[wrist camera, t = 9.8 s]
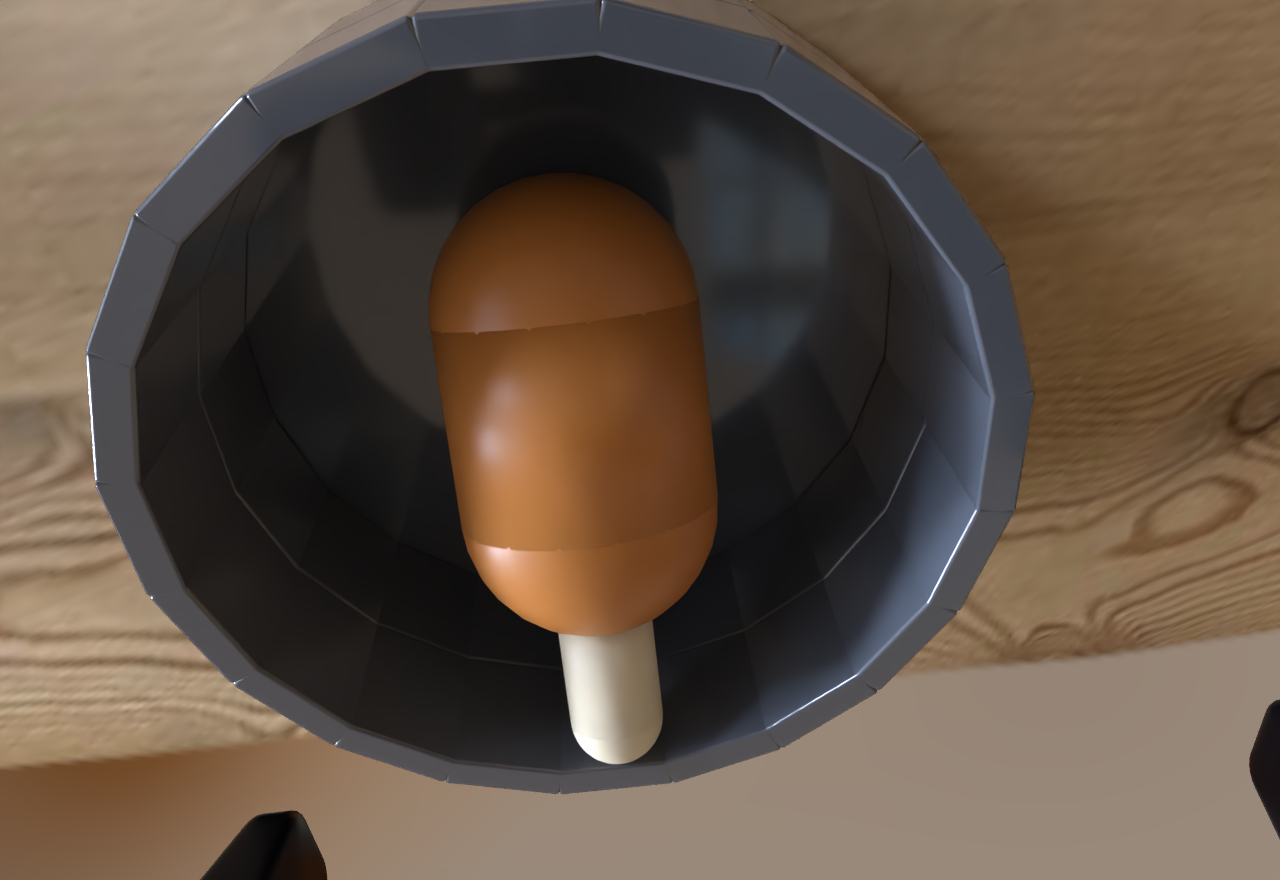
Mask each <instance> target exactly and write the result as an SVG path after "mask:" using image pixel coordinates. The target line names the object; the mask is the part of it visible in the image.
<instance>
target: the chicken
mask: <svg viewBox="0 0 1280 880" xmlns="http://www.w3.org/2000/svg"><path fill="white" fill-rule="evenodd" d="M428 309H429V326H430V332H431V339H432V345H433V351H434V358H435V364H436V370H437V376H438V383H439V389H440V395H441V401H442V408H443V414H444V420H445V426H446V433H447V439H448V445H449V451H450V458H451V464H452V470H453V477H454V483H455V489H456V495H457V502H458V508H459V514H460V520H461V528H462V532H463V536H464V539H465V543H466V547H467V551H468V553H469V555H470V557H471V559H472V561H473V563H474V565H475V567H476V569H477V571H478V573H479V575H480V577H481V578H482V580H483V582H484V583H485V584H486V585H487V587H488V588H489V589H490V590H491V592H492V593H493V594H494V595H495V596H496V598H497V599H498V600H499V601H501V602H502V603H503V604H505V605H506V606H507V607H508V608H510V609H511V610H512V611H514V612H515V613H516V614H518V615H519V616H520V617H521V618H523V619H524V620H527V621H529V622H531V623H533V624H536V625H538V626H540V627H542V628H545V629H547V630H550V631H552V632H557V633H558V635H559V642H560V649H561V656H562V663H563V670H564V678H565V685H566V692H567V699H568V706H569V714H570V721H571V726H572V730H573V734H574V736H575V738H576V740H577V741H578V743H579V745H580V746H581V747H582V748H583V750H584V751H585V752H586V753H587V754H589V755H590V756H592V757H593V758H595V759H597V760H599V761H602V762H605V763H609V764H624V763H628V762H632V761H634V760H636V759H638V758H640V757H641V756H643V755H644V754H645V753H647V752H648V751H649V749H650V748H651V747H652V746H653V745H654V743H655V742H656V740H657V738H658V736H659V733H660V731H661V727H662V721H663V709H662V700H661V691H660V683H659V674H658V665H657V657H656V648H655V639H654V630H653V622H652V620H653V619H655V618H656V617H658V616H659V615H661V614H662V613H664V612H665V611H666V610H667V609H669V608H670V607H671V606H672V605H673V604H675V603H676V602H677V601H678V600H679V599H680V598H681V597H682V596H683V595H684V594H685V593H686V592H687V590H688V589H689V588H690V586H691V585H692V584H693V582H694V581H695V580H696V578H697V577H698V576H699V574H700V572H701V570H702V568H703V566H704V564H705V561H706V559H707V557H708V555H709V553H710V550H711V548H712V545H713V541H714V536H715V532H716V527H717V507H718V491H717V481H716V470H715V460H714V449H713V439H712V428H711V418H710V407H709V397H708V386H707V376H706V365H705V355H704V344H703V334H702V323H701V313H700V302H699V296H698V291H697V286H696V281H695V276H694V270H693V268H692V265H691V263H690V260H689V258H688V256H687V253H686V251H685V248H684V246H683V244H682V243H681V241H680V240H679V238H678V237H677V235H676V234H675V232H674V230H673V229H672V227H671V226H670V224H669V223H668V222H667V221H666V220H665V219H664V218H663V217H662V216H661V215H660V214H659V213H658V212H657V211H656V210H655V209H654V208H653V207H652V206H651V205H650V204H649V203H648V202H646V201H645V200H643V199H642V198H640V197H639V196H637V195H636V194H634V193H633V192H631V191H630V190H628V189H627V188H625V187H622V186H620V185H617V184H615V183H613V182H610V181H608V180H605V179H603V178H600V177H595V176H590V175H585V174H579V173H574V172H569V173H545V174H540V175H535V176H530V177H525V178H521V179H519V180H517V181H514V182H512V183H510V184H507V185H505V186H503V187H501V188H498V189H496V190H495V191H493V192H492V193H490V194H489V195H488V196H486V197H485V198H483V199H482V200H481V201H479V202H478V203H476V204H475V205H474V206H473V207H472V208H471V209H470V210H469V211H468V212H467V213H466V214H465V215H464V217H463V218H462V219H461V220H460V221H459V222H458V223H457V224H456V225H455V227H454V228H453V230H452V232H451V233H450V235H449V237H448V238H447V240H446V242H445V243H444V245H443V247H442V248H441V251H440V253H439V256H438V259H437V262H436V265H435V267H434V270H433V273H432V278H431V285H430V292H429V299H428Z"/></svg>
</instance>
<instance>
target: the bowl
mask: <svg viewBox="0 0 1280 880" xmlns="http://www.w3.org/2000/svg"><path fill="white" fill-rule="evenodd" d="M569 172H574V173H579V174H585V175H590V176H595V177H600V178H603V179H605V180H608V181H610V182H613V183H615V184H617V185H620V186H622V187H625V188H627V189H628V190H630V191H631V192H633V193H634V194H636V195H637V196H639V197H640V198H642V199H643V200H645V201H646V202H648V203H649V204H650V205H651V206H652V207H653V208H654V209H655V210H656V211H657V212H658V213H659V214H660V215H661V216H662V217H663V218H664V219H665V220H666V221H667V222H668V223H669V224H670V226H671V227H672V229H673V230H674V232H675V234H676V235H677V237H678V238H679V240H680V241H681V243H682V244H683V246H684V248H685V251H686V253H687V256H688V258H689V260H690V263H691V265H692V268H693V270H694V276H695V281H696V286H697V291H698V296H699V302H700V313H701V323H702V334H703V344H704V355H705V365H706V376H707V386H708V397H709V407H710V418H711V428H712V439H713V449H714V460H715V470H716V481H717V491H718V507H717V527H716V532H715V536H714V541H713V545H712V548H711V550H710V553H709V555H708V557H707V559H706V561H705V564H704V566H703V568H702V570H701V572H700V574H699V576H698V577H697V578H696V580H695V581H694V582H693V584H692V585H691V586H690V588H689V589H688V590H687V592H686V593H685V594H684V595H683V596H682V597H681V598H680V599H679V600H678V601H677V602H676V603H675V604H673V605H672V606H671V607H670V608H669V609H667V610H666V611H665V612H664V613H662V614H661V615H659V616H658V617H656V618H655V619H653V620H652V622H653V630H654V639H655V648H656V657H657V665H658V674H659V683H660V691H661V700H662V709H663V721H662V727H661V731H660V733H659V736H658V738H657V740H656V742H655V743H654V745H653V746H652V747H651V748H650V749H649V751H648V752H647V753H645V754H644V755H643V756H641V757H640V758H638V759H636V760H634V761H632V762H628V763H624V764H609V763H605V762H602V761H599V760H597V759H595V758H593V757H592V756H590V755H589V754H587V753H586V752H585V751H584V750H583V748H582V747H581V746H580V745H579V743H578V741H577V740H576V738H575V736H574V734H573V730H572V726H571V721H570V714H569V706H568V699H567V692H566V685H565V678H564V670H563V663H562V656H561V649H560V642H559V635H558V633H557V632H552V631H550V630H547V629H545V628H542V627H540V626H538V625H536V624H533V623H531V622H529V621H527V620H524V619H523V618H521V617H520V616H519V615H518V614H516V613H515V612H514V611H512V610H511V609H510V608H508V607H507V606H506V605H505V604H503V603H502V602H501V601H499V600H498V599H497V598H496V596H495V595H494V594H493V593H492V592H491V590H490V589H489V588H488V587H487V585H486V584H485V583H484V582H483V580H482V578H481V577H480V575H479V573H478V571H477V569H476V567H475V565H474V563H473V561H472V559H471V557H470V555H469V553H468V551H467V547H466V543H465V539H464V536H463V532H462V528H461V520H460V514H459V508H458V502H457V495H456V489H455V483H454V477H453V470H452V464H451V458H450V451H449V445H448V439H447V433H446V426H445V420H444V414H443V408H442V401H441V395H440V389H439V383H438V376H437V370H436V364H435V358H434V351H433V345H432V339H431V332H430V326H429V309H428V299H429V292H430V285H431V278H432V273H433V270H434V267H435V265H436V262H437V259H438V256H439V253H440V251H441V248H442V247H443V245H444V243H445V242H446V240H447V238H448V237H449V235H450V233H451V232H452V230H453V228H454V227H455V225H456V224H457V223H458V222H459V221H460V220H461V219H462V218H463V217H464V215H465V214H466V213H467V212H468V211H469V210H470V209H471V208H472V207H473V206H474V205H475V204H476V203H478V202H479V201H481V200H482V199H483V198H485V197H486V196H488V195H489V194H490V193H492V192H493V191H495V190H496V189H498V188H501V187H503V186H505V185H507V184H510V183H512V182H514V181H517V180H519V179H521V178H525V177H530V176H535V175H540V174H545V173H569ZM86 351H87V354H86V364H87V378H88V392H89V406H90V419H91V433H92V447H93V461H94V475H95V480H96V488H97V491H98V493H99V495H100V497H101V499H102V501H103V503H104V505H105V507H106V510H107V512H108V514H109V516H110V518H111V520H112V522H113V524H114V526H115V528H116V531H117V533H118V535H119V537H120V539H121V541H122V543H123V545H124V547H125V550H126V552H127V554H128V556H129V558H130V560H131V562H132V564H133V566H134V569H135V571H136V573H137V575H138V577H139V579H140V581H141V583H142V585H143V588H144V590H145V592H146V594H147V595H149V596H151V599H152V600H153V601H154V603H155V604H156V605H157V606H158V607H159V608H160V609H161V610H162V611H163V612H164V613H165V614H166V615H167V616H168V617H169V618H170V619H171V621H172V622H173V623H174V624H175V625H176V626H177V627H178V628H179V629H180V630H181V631H182V632H183V633H184V634H185V635H186V636H187V637H188V638H189V640H190V641H191V642H192V643H193V644H194V645H195V646H196V647H197V648H198V649H199V650H200V651H201V652H202V653H203V654H204V655H205V656H206V658H207V659H208V660H209V661H210V662H211V663H212V664H213V665H214V666H215V667H216V668H217V669H218V670H219V671H220V672H221V673H222V674H223V675H224V677H225V678H226V679H227V680H228V681H229V682H234V685H235V686H236V687H237V688H239V689H240V690H242V691H244V692H245V693H247V694H249V695H250V696H252V697H254V698H255V699H257V700H259V701H260V702H262V703H263V704H265V705H267V706H268V707H270V708H272V709H273V710H275V711H277V712H278V713H280V714H282V715H283V716H285V717H286V718H288V719H290V720H291V721H293V722H295V723H296V724H298V725H300V726H301V727H303V728H305V729H306V730H308V731H309V732H311V733H313V734H314V735H316V736H318V737H319V738H321V739H323V740H324V741H326V742H328V743H329V744H335V746H336V747H338V748H341V749H344V750H347V751H350V752H353V753H356V754H360V755H362V756H365V757H369V758H372V759H375V760H378V761H381V762H384V763H387V764H390V765H393V766H396V767H399V768H403V769H405V770H409V771H411V772H415V773H418V774H421V775H424V776H427V777H430V778H433V779H436V780H439V781H445V780H446V782H448V783H456V784H466V785H475V786H484V787H495V788H504V789H513V790H523V791H533V792H542V793H552V794H557V793H559V792H560V793H561V794H569V793H579V792H588V791H598V790H608V789H618V788H628V787H638V786H647V785H657V784H667V783H671V782H672V781H673V782H679V781H682V780H685V779H688V778H691V777H695V776H698V775H701V774H704V773H707V772H710V771H713V770H716V769H720V768H723V767H726V766H729V765H732V764H735V763H738V762H742V761H745V760H748V759H751V758H754V757H757V756H760V755H764V754H767V753H770V752H773V751H776V750H779V749H780V747H785V746H787V745H789V744H790V743H792V742H794V741H795V740H797V739H799V738H801V737H802V736H804V735H806V734H807V733H809V732H811V731H813V730H814V729H816V728H817V727H819V726H821V725H822V724H824V723H826V722H828V721H830V720H831V719H833V718H834V717H836V716H838V715H840V714H841V713H843V712H845V711H847V710H848V709H850V708H852V707H853V706H855V705H857V704H858V703H860V702H862V701H863V700H865V699H867V698H869V697H870V696H872V695H874V694H876V692H877V690H880V689H881V688H882V687H884V686H885V685H886V684H887V683H888V682H889V681H890V680H891V679H892V678H893V677H894V676H895V675H896V674H897V673H898V672H899V671H900V670H901V669H902V668H903V667H904V666H905V665H906V664H907V663H908V662H909V661H910V660H911V659H912V658H913V657H914V656H915V655H916V654H917V653H918V652H919V651H920V650H921V649H922V648H923V647H924V646H925V645H926V644H927V643H928V642H929V641H930V640H931V639H932V638H933V637H934V636H935V635H936V634H937V633H938V632H939V631H940V630H941V629H942V628H943V627H944V626H945V625H946V624H947V623H948V622H949V621H950V620H951V619H952V618H953V617H954V616H955V615H956V614H957V611H958V610H960V609H961V608H962V606H963V604H964V602H965V601H966V599H967V597H968V595H969V593H970V591H971V590H972V588H973V586H974V584H975V582H976V580H977V579H978V577H979V575H980V573H981V571H982V570H983V568H984V566H985V564H986V562H987V560H988V559H989V557H990V555H991V553H992V551H993V549H994V548H995V546H996V544H997V542H998V540H999V539H1000V537H1001V535H1002V533H1003V531H1004V529H1005V528H1006V526H1007V524H1008V522H1009V520H1010V518H1011V517H1012V515H1013V510H1015V508H1016V503H1017V497H1018V491H1019V485H1020V479H1021V473H1022V467H1023V461H1024V455H1025V449H1026V443H1027V437H1028V431H1029V425H1030V419H1031V413H1032V407H1033V401H1034V395H1035V393H1034V391H1033V380H1032V376H1031V371H1030V366H1029V362H1028V357H1027V352H1026V348H1025V343H1024V338H1023V333H1022V329H1021V324H1020V319H1019V315H1018V310H1017V305H1016V301H1015V296H1014V291H1013V286H1012V282H1011V277H1010V272H1009V268H1008V265H1007V264H1006V263H1005V257H1004V255H1003V254H1002V252H1001V251H1000V249H999V248H998V246H997V245H996V243H995V242H994V240H993V239H992V237H991V236H990V235H989V233H988V232H987V230H986V229H985V227H984V226H983V224H982V223H981V221H980V220H979V218H978V217H977V215H976V214H975V212H974V211H973V209H972V208H971V207H970V205H969V204H968V202H967V201H966V199H965V198H964V196H963V195H962V193H961V192H960V190H959V189H958V187H957V186H956V184H955V183H954V182H953V180H952V179H951V177H950V176H949V174H948V173H947V171H946V170H945V168H944V167H943V165H942V164H941V162H940V161H939V159H938V158H937V157H936V155H935V154H934V152H933V151H932V149H931V148H930V146H929V145H928V143H927V142H926V141H925V140H924V139H923V138H922V137H920V136H919V134H918V133H917V132H916V131H915V130H913V129H912V128H911V127H910V126H909V125H908V124H906V123H905V122H904V121H903V120H902V119H901V118H899V117H898V116H897V115H896V114H895V113H894V112H892V111H891V110H890V109H889V108H888V107H887V106H885V105H884V104H883V103H882V102H881V101H880V100H879V99H877V98H876V97H875V96H874V95H873V94H872V93H870V92H869V91H868V90H867V89H866V88H865V87H864V86H863V85H861V84H860V83H859V82H858V81H857V80H856V79H854V78H853V77H852V76H851V75H850V74H849V73H847V72H846V71H845V70H844V69H843V68H842V67H840V66H839V65H838V64H837V63H836V62H835V61H833V60H832V59H831V58H830V57H829V56H828V55H826V54H825V53H823V52H822V51H820V50H819V49H818V48H816V47H815V46H813V45H812V44H810V43H809V42H807V41H806V40H805V39H803V38H802V37H800V36H799V35H797V34H796V33H794V32H793V31H792V30H790V29H789V28H787V27H786V26H785V25H784V24H783V23H781V22H780V21H779V20H777V19H776V18H774V17H772V16H771V15H769V14H768V13H766V12H765V11H763V10H761V9H760V8H758V7H757V6H755V5H754V4H753V3H751V2H750V1H748V0H376V1H374V2H373V3H372V4H370V5H368V6H366V7H364V8H362V9H360V10H358V11H356V12H353V13H351V14H349V15H347V16H345V17H343V18H341V19H339V20H338V21H337V22H336V23H334V24H333V25H331V26H330V27H329V28H327V29H326V30H325V31H324V32H322V33H321V34H320V35H318V36H317V37H316V38H315V39H313V40H312V41H311V42H309V43H308V44H307V45H306V46H304V47H303V48H302V49H300V50H299V51H298V52H297V53H295V54H294V55H293V56H291V57H290V58H289V59H288V60H286V61H285V62H284V63H282V64H281V65H280V66H279V67H277V68H276V69H275V70H273V71H272V72H271V73H270V74H268V75H267V76H266V77H264V78H263V79H262V80H261V81H259V82H258V83H257V84H255V85H254V86H253V87H252V88H250V89H249V90H248V91H246V92H245V93H244V94H243V95H241V96H240V97H239V98H238V99H237V100H236V101H235V103H234V104H233V105H232V106H231V107H230V108H229V109H228V110H227V111H226V112H225V113H224V115H223V116H222V117H221V118H220V119H219V120H218V121H217V122H216V123H215V124H214V125H213V127H212V128H211V129H210V130H209V131H208V132H207V133H206V134H205V135H204V136H203V137H202V138H201V140H200V141H199V142H198V143H197V144H196V145H195V146H194V147H193V148H192V149H191V150H190V152H189V153H188V154H187V155H186V156H185V157H184V158H183V159H182V160H181V161H180V162H179V163H178V165H177V166H176V167H175V168H174V169H173V170H172V171H171V172H170V173H169V174H168V175H167V177H166V178H165V179H164V180H163V181H162V182H161V183H160V184H159V185H158V186H157V187H156V189H155V190H154V191H153V192H152V193H151V194H150V195H149V196H148V197H147V198H146V199H145V200H144V202H143V203H142V204H141V205H140V206H139V207H138V208H137V209H136V211H135V214H134V215H133V216H132V217H131V219H130V222H129V225H128V228H127V231H126V234H125V237H124V239H123V242H122V245H121V248H120V251H119V254H118V257H117V260H116V262H115V265H114V268H113V271H112V274H111V277H110V280H109V283H108V285H107V288H106V291H105V294H104V297H103V300H102V303H101V305H100V308H99V311H98V314H97V317H96V320H95V323H94V326H93V328H92V331H91V334H90V337H89V340H88V343H87V346H86Z"/></svg>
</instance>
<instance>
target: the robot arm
mask: <svg viewBox="0 0 1280 880" xmlns="http://www.w3.org/2000/svg"><path fill="white" fill-rule="evenodd" d="M1249 763H1250V764H1249V767H1250V774H1251V777H1252V781H1253V783H1254V786H1255V788H1256V790H1257V792H1258V795H1259V796H1260V799H1261V801H1262V803H1263V805H1264V807H1265V809H1266V811H1267V813H1268V815H1269V818H1270V820H1271V822H1272V824H1273V826H1274V828H1275V830H1276V832H1277V834H1278V837H1279V839H1280V700H1276V701H1274V702H1273V703H1272V704H1271V705H1269V707H1268V709H1267V710H1266V713H1265V716H1264V718H1263V721H1262V724H1261V727H1260V730H1259V732H1258V735H1257V738H1256V740H1255V743H1254V746H1253V749H1252V751H1251V754H1250V762H1249ZM200 880H327V873H326V866H325V862H324V859H323V857H322V855H321V853H320V851H319V848H318V846H317V844H316V842H315V840H314V838H313V835H312V833H311V831H310V829H309V827H308V825H307V822H306V820H305V819H304V817H303V815H302V814H300V813H299V812H297V811H283V812H274V813H265V814H261V815H257V816H256V817H254V818H252V819H251V820H250V821H249V822H248V823H247V824H246V825H245V826H244V827H243V828H242V829H241V831H240V832H239V833H238V835H237V836H236V837H235V838H234V839H233V841H232V842H231V843H230V844H229V845H228V847H227V848H226V849H225V850H224V851H223V853H222V854H221V855H220V857H218V859H217V860H216V861H215V862H214V864H213V865H212V866H211V867H210V869H209V870H208V871H207V872H206V873H205V875H204V876H203V877H202V878H201V879H200Z"/></svg>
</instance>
